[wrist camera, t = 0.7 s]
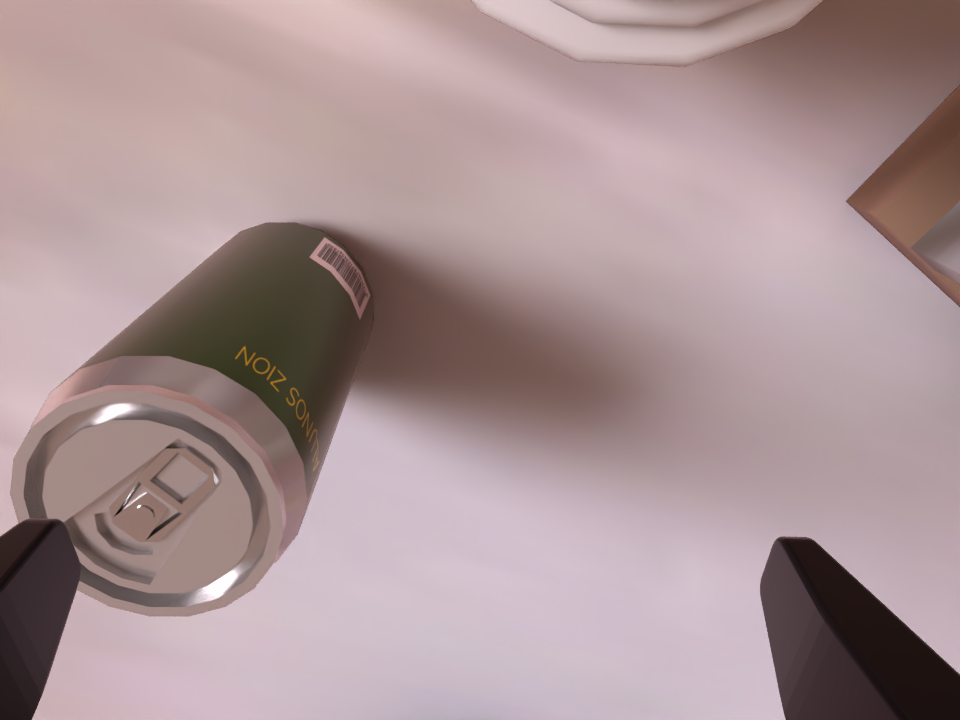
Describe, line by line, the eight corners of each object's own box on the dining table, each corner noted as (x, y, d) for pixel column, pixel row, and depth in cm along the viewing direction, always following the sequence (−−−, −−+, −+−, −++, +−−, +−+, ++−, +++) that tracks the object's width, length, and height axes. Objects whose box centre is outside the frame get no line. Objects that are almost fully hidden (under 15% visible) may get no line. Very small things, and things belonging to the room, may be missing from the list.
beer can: (282, 179, 24) (108, 315, 13) (411, 298, 25) (356, 511, 14) (176, 298, 25) (-60, 511, 14) (304, 403, 27) (179, 669, 16)
